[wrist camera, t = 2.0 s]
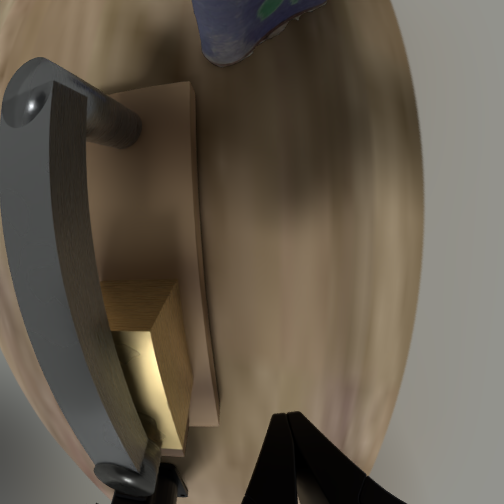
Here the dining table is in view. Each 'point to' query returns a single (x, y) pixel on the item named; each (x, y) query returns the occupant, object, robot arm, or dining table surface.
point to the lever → (69, 261)
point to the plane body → (157, 222)
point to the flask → (243, 25)
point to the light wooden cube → (152, 353)
